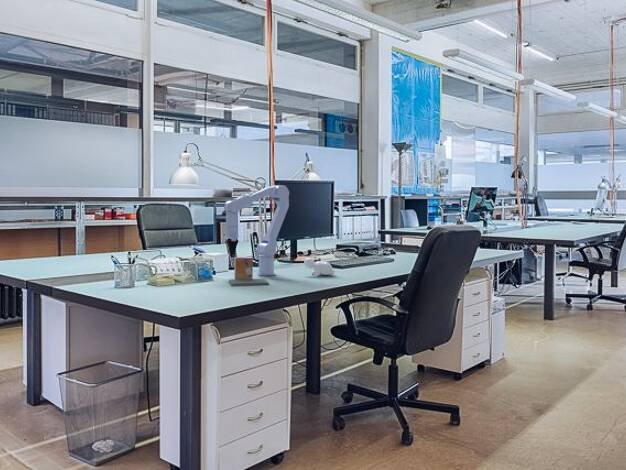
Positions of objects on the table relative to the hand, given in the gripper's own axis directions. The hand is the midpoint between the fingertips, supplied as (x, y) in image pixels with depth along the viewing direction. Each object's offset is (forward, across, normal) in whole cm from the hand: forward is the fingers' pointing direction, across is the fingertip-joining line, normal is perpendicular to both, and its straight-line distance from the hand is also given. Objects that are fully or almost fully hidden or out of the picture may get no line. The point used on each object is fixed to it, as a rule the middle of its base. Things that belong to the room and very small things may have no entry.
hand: (232, 255), depth 275 cm
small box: (+11, +10, +4) cm, 15 cm away
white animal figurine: (+11, +3, +41) cm, 43 cm away
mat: (+10, +20, +5) cm, 23 cm away
